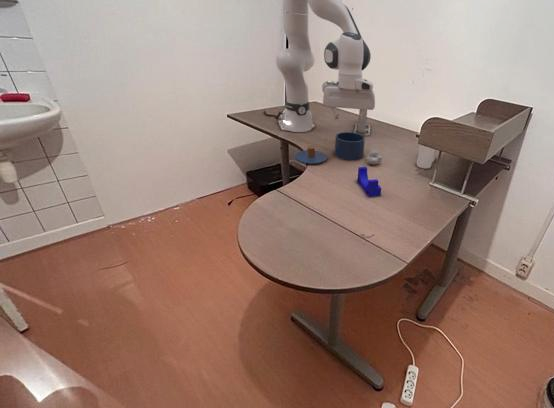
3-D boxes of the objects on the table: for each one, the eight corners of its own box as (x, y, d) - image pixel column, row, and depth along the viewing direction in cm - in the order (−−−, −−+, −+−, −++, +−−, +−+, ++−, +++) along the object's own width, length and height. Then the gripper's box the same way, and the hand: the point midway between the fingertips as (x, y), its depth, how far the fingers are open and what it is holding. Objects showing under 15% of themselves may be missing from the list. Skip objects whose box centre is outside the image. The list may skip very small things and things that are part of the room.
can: (419, 161, 135) (424, 136, 129) (432, 165, 133) (438, 140, 126) (413, 166, 130) (418, 140, 124) (427, 170, 128) (433, 144, 121)
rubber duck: (365, 161, 131) (367, 143, 127) (380, 162, 131) (382, 144, 127) (366, 166, 126) (368, 148, 122) (381, 167, 127) (384, 149, 123)
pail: (330, 151, 137) (330, 133, 132) (354, 148, 143) (355, 130, 139) (343, 162, 128) (344, 143, 123) (368, 158, 134) (370, 140, 130)
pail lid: (289, 154, 130) (289, 143, 127) (319, 150, 136) (319, 140, 134) (302, 167, 120) (301, 155, 117) (333, 162, 127) (333, 151, 124)
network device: (356, 122, 179) (358, 88, 168) (370, 124, 179) (373, 89, 168) (353, 136, 157) (355, 97, 146) (369, 138, 157) (373, 99, 147)
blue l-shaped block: (380, 195, 106) (382, 180, 103) (368, 197, 104) (370, 181, 101) (368, 180, 115) (369, 166, 112) (357, 181, 114) (358, 167, 110)
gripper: (321, 81, 108) (321, 119, 115) (377, 85, 109) (373, 123, 116) (323, 79, 114) (323, 115, 121) (376, 83, 115) (373, 118, 122)
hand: (348, 119), depth 119 cm, fingers open, 8 cm apart
